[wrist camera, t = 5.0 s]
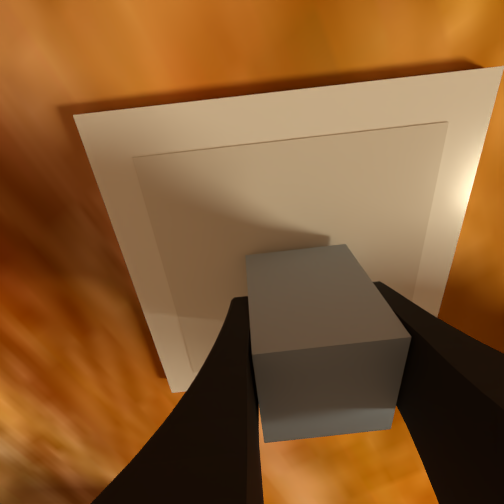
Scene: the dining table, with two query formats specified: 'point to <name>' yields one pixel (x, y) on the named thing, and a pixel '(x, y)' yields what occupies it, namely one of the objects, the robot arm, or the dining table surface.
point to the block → (322, 344)
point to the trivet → (286, 191)
